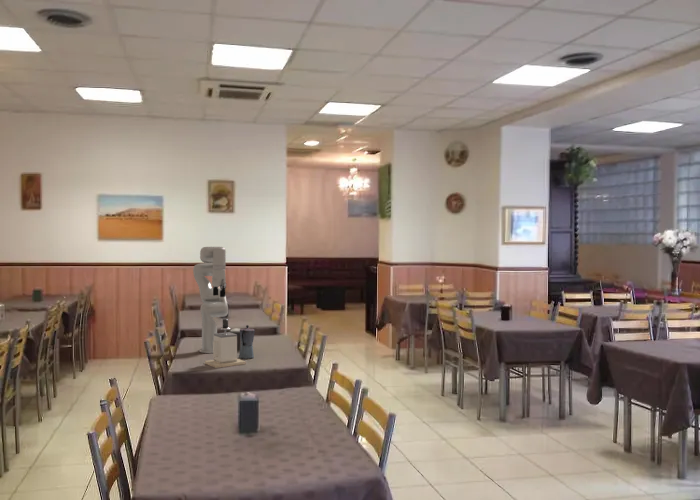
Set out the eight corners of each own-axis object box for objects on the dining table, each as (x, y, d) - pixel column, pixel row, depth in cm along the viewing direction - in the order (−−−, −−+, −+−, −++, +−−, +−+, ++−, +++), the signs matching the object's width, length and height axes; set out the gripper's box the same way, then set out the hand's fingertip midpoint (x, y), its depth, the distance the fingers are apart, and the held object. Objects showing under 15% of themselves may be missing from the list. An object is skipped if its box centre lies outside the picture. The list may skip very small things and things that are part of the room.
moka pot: (257, 355, 409) (257, 323, 408) (251, 360, 394) (251, 327, 393) (242, 355, 410) (242, 323, 409) (235, 360, 394) (235, 327, 394)
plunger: (216, 358, 385) (216, 319, 384) (228, 357, 390) (228, 318, 389) (222, 360, 379) (222, 320, 378) (234, 359, 384) (234, 319, 383)
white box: (204, 363, 385) (204, 333, 384) (234, 359, 396) (234, 330, 396) (215, 368, 373) (215, 337, 372) (245, 364, 384) (245, 334, 384)
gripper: (207, 267, 401) (207, 295, 402) (219, 268, 387) (219, 297, 388) (218, 266, 406) (218, 294, 406) (231, 268, 392) (231, 297, 392)
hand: (219, 296), depth 397 cm, fingers open, 9 cm apart
